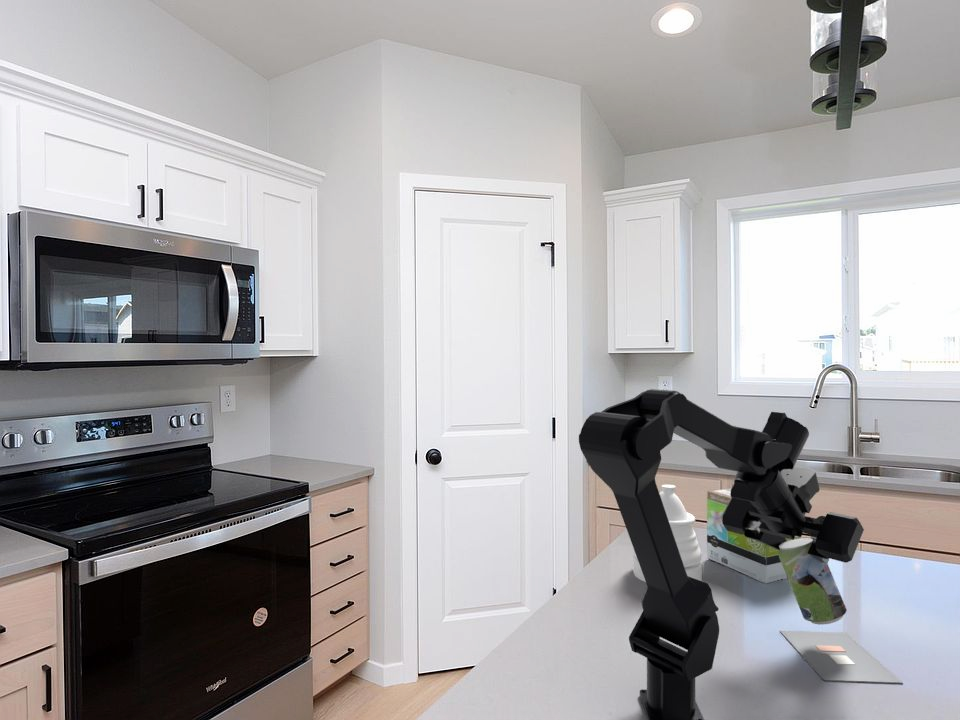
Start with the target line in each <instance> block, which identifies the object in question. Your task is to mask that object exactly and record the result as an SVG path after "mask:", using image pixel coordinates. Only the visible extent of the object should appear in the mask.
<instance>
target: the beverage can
mask: <svg viewBox="0 0 960 720" xmlns="http://www.w3.org/2000/svg"><path fill="white" fill-rule="evenodd" d="M812 541H813V539H811V537H810V536H809V537H807V536H805V537H800V538H796V539H794V540H789V541H786V542H784V543H782V544H780V545H779V548H780V551H779V558H780V561H781V563H782V566H783V568H784V571H785V573H786V576H787V580H788V583H789V586H790V588H791V591H792V593H793V595H794V599H795V601H796V602H797V605H798V608H799V610H800V613H801V615H802V617H803V619H804V620H805V621H808V622H810V623H812V624H813V625H829V624H832V623H833V624H834V623H836V622H839V621H840V620H842V619H843V618H844V615H845V614H846V613H847V606H846V604H845V603H844V600H843V597H842V595H841V592H840V591H839V588H838V585H837V583H836V580H835V578H834V576H833V573H832V571H831V568H830V567H829V562H828V563H827V562H826V563H823V562H821V561H819V560H817V559H815V558H813V557H812V556H810V555H809V554H808V550H809V548H810V546H811V543H812Z"/></svg>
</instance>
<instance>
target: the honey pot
mask: <svg viewBox="0 0 960 720" xmlns="http://www.w3.org/2000/svg"><path fill="white" fill-rule="evenodd" d="M661 490H662V491H660V492H659V494H660V497H661V500H662V503H663V506H664V509H665V512H666V515H667V518H668V521H669V523H670V526H671V529H672V532H673V535H674V538H675V541H676V544H677V547H678V550H679V553H680V556H681V559H682V562H683V565H684V568H685V571H686V574H687V576H689V577H692V578H694V579H697V580H700V581H703V580H702V579H703V577H702V575H703V574H702V573H703V572H702V571H703V564H702V563H703V562H702V561H703V559H702V555H703V554H702V549H701V547H700V546H699V541H698V539H697V534H696V533H697V532H695V530H694V528H693V525H694V524H695V522H696V517H695V516H694V515H693V514H692V513H689V512H688V511H687V510H686V508H685V506H684V504H683V503H682V500H681V499H680V498H679V496H678V495H677V494H676V493H675V492H676V485H674V484H662V485H661ZM632 550H633V558H632V559H633V560H632V561H633V565H632V567H633V570H632V571H633V575H634V576H635V577H636V578H637V579H638V580H640V581H642V582H645V583H646V581H645V578H644V575H643V573H642V570H641V567H640V564H639V562H638V559H637V556H636V553H635V551H634V548H632Z"/></svg>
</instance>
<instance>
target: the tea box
mask: <svg viewBox="0 0 960 720" xmlns="http://www.w3.org/2000/svg"><path fill="white" fill-rule="evenodd" d="M731 488H732V487H729V488H723V489H717V490H712V491H711V490H710V491H709V490H707V494H706V495H707V496H706V506H707V508H706V511H707V512H706V558H707V560H709V561H710V560H711V561H714V562H716V563H719V564H721V565H724V566H725V567H727V568H729V569H732V570H734V571H737V572H739V573H741V574H743V575H746V576H747V577H750V578H752V579H754V580H756V581H759V583H760V582H761V583H762V584H766V583H767V584H771V583H775V582H778V581H777V580H779V581H782V580H781V579H783V580H786V579H785V578H787V576H786V573H785V571H784V568H783V566H782V563H781V561H780V558H779V550H776V549H774V548H772V547H770V546H767V545H765V544H762V543H760V542H758V541H755V540H753V539H750V538H747V537H745V535H744V534H743V535H741V534H738V533H734V532H730V531H727V530H726V528H725V527H724V525H723V524H722V514H723V512H724V510H725V509H726V507H727V505H728V503H729V501H730V499H731V496H730V493H731ZM796 538H798V537H795V538H794V539H796ZM785 539H786V540H787V541H789V540H792V539H788V538H785ZM787 579H788V578H787ZM774 581H775V582H774ZM770 582H771V583H770Z"/></svg>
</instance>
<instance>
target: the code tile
mask: <svg viewBox="0 0 960 720" xmlns="http://www.w3.org/2000/svg"><path fill="white" fill-rule="evenodd" d="M779 633H781V634H782V637H784V638H785V640H787V641H788V642H789V643H790V645H791V646H792V647H793V648H794V649H795V650H796V652H798V653H799V654H800V656H801V657H802V658H803V659H804V660H805V661H806V662H807V664H808V665H809V666H811V668H812V669H813V670H814V671H815V672H816V673H817V675H818V676H819V677H820V678H821V679H822V680H823V681H824V682H846V683H872V684H873V683H875V684H902V685H903V684H904V682H903V681H902V680H901V679H900V678H899V677H897V676H896V675H895V674H894V673H893V672H892V671H891V670H890V669H888V668H887V667H886V666H885V665H884V664H882V663H881V662H880V661H879V660H878V659H877V658H876V657H875V656H873V655H872V654H871V653H870V652H869V651H868V650H866V648H864V647H863V646H862V645H861V644H860V643H858V642H857V641H856V640H855V639H854V638H853V637H852V636H851V635H850V634H848V632H840V631H839V632H838V631H837V632H836V631H835V632H834V631H809V630H808V631H804V630H803V631H802V630H779Z"/></svg>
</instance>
